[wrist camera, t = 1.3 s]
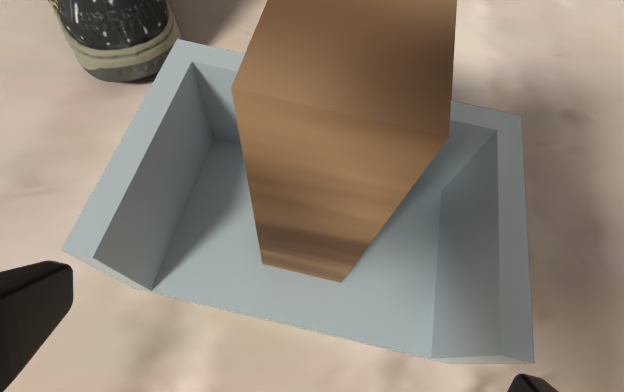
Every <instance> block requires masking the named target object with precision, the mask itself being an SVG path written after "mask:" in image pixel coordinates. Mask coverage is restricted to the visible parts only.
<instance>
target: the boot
mask: <svg viewBox="0 0 624 392" xmlns="http://www.w3.org/2000/svg"><path fill="white" fill-rule="evenodd" d="M48 1H49V2H50V3H51V5H52V6H53V9H54V12H55V14H56V17H57V18H58V20H59V22H60V25H61V28H62V30H63V33H64V35H65V37H66V39H67V41H68V43H69V45H70V47H71V48H72V49H73V51H74V53H75V55H76V57H77V59H78V61H79V62H80V64H81V65H82V67H83V68H84V69H85V70H86V71H87V72H88V73H89V74H91V75H92V76H94V77H96V78H98V79H100V80H103V81H108V82H126V81H132V80H137V79H141V78H144V77H147V76H151V75H153V74H154V73H156V72H159V71H160V69H161V67H162V66H163V64H164V62H165V60H166V58H167V56H168V55H169V53H170V51H171V49H172V47H173V46H174V44H175V42H176V40H177V39H180V40H182V36H181V32H180V30H179V27H178V25H177V22H176V19H175V17H174V14H173V12H172V10H171V8H170V5H169V4H168V2H167V1H166V0H48Z"/></svg>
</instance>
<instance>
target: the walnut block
mask: <svg viewBox="0 0 624 392" xmlns="http://www.w3.org/2000/svg"><path fill="white" fill-rule="evenodd" d="M456 7H457V0H268V1H267V3H266V5H265V8H264V10H263V12H262V15H261V17H260V20H259V22H258V24H257V27H256V29H255V32H254V34H253V36H252V39H251V41H250V43H249V46H248V48H247V51H246V53H245V55H244V58H243V60H242V62H241V65H240V67H239V70H238V72H237V74H236V77H235V79H234V82H233V84H232V86H231V90H232V96H233V102H234V107H235V113H236V118H237V124H238V130H239V135H240V141H241V147H242V152H243V158H244V163H245V169H246V175H247V180H248V186H249V192H250V197H251V203H252V208H253V214H254V220H255V225H256V231H257V237H258V242H259V248H260V253H261V259H262V264H264V265H268V266H272V267H277V268H281V269H285V270H289V271H293V272H298V273H302V274H306V275H310V276H315V277H319V278H323V279H327V280H331V281H336V282H340V283H342V281H343V280H344V279H345V277H346V276H347V274H348V273H349V272H350V270H351V269H352V268H353V266H354V265H355V264H356V262H357V261H358V260H359V258H360V257H361V256H362V254H363V253H364V251H365V250H366V249H367V247H368V246H369V245H370V243H371V242H372V241H373V239H374V238H375V237H376V235H377V234H378V233H379V231H380V230H381V228H382V227H383V226H384V224H385V223H386V222H387V220H388V219H389V218H390V216H391V215H392V214H393V212H394V211H395V210H396V208H397V207H398V205H399V204H400V203H401V201H402V200H403V199H404V197H405V196H406V195H407V193H408V192H409V191H410V189H411V188H412V187H413V185H414V184H415V182H416V181H417V180H418V178H419V177H420V176H421V174H422V173H423V172H424V170H425V169H426V168H427V166H428V165H429V164H430V162H431V161H432V159H433V158H434V157H435V155H436V154H437V153H438V151H439V150H440V149H441V147H442V146H443V145H444V143H445V142H446V141H447V139H448V138H449V130H450V112H451V95H452V77H453V60H454V42H455V25H456Z"/></svg>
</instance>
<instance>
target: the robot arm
mask: <svg viewBox="0 0 624 392" xmlns="http://www.w3.org/2000/svg"><path fill="white" fill-rule="evenodd" d="M72 303H73V270H72V268H71V266H69V265H68V264H64V263H60V262H56V261H43V262H39V263H35V264H31V265H27V266H23V267H19V268H15V269H11V270H7V271H2V272H0V392H3V391H4V390H5V389H6V388H7V387H8V386H9V385H10V384H11V383H12V381H13V380H14V379H15V378H16V377H17V375H18V374H19V373H20V372H21V371H22V370H23V368H24V367H25V366H26V365H27V363H28V362H29V361H30V359H31V358H32V357H33V356H34V354H35V353H36V352H37V351H38V349H39V348H40V347H41V346H42V344H43V343H44V342H45V341H46V339H47V338H48V337H49V335H50V334H51V333H52V332H53V330H54V329H55V328H56V327H57V325H58V324H59V323H60V322H61V320H62V319H63V318H64V317H65V315H66V314H67V313H68V311H69V310H70V308H71V306H72ZM507 392H558V391H557V390H556V389H554V388H553V387H552V386H551V385H550V384H548V383H547V382H546V381H545V380H543V379H541V378H539V377H535V376H531V375H526V374H518V375H517V376H516V377H515V378H514V380H513V382H512V384H511V385H510V387H509V389H508V391H507Z"/></svg>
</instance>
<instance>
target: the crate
mask: <svg viewBox="0 0 624 392" xmlns="http://www.w3.org/2000/svg"><path fill="white" fill-rule="evenodd" d="M244 55H245V54H243V53H238V52H234V51H229V50H225V49H221V48H216V47H212V46H207V45H203V44H198V43H194V42H189V41H185V40H180V39H177V40H176V42H175V44H174V46H173V47H172V49H171V51H170V53H169V55H168V56H167V58H166V60H165V62H164V64H163V66H162V67H161V69H160V71H159V73H158V75H157V76H156V78H155V80H154V82H153V84H152V85H151V87H150V89H149V91H148V93H147V95H146V96H145V98H144V100H143V102H142V104H141V105H140V107H139V109H138V111H137V113H136V114H135V116H134V118H133V120H132V122H131V124H130V125H129V127H128V129H127V131H126V133H125V134H124V136H123V138H122V140H121V142H120V143H119V145H118V147H117V149H116V151H115V153H114V154H113V156H112V158H111V160H110V162H109V163H108V165H107V167H106V169H105V171H104V172H103V174H102V176H101V178H100V180H99V182H98V183H97V185H96V187H95V189H94V191H93V192H92V194H91V196H90V198H89V200H88V201H87V203H86V205H85V207H84V209H83V210H82V212H81V214H80V216H79V218H78V220H77V221H76V223H75V225H74V227H73V229H72V230H71V232H70V234H69V236H68V238H67V239H66V241H65V243H64V245H63V247H62V249H61V250H62V251H64V252H66V253H67V254H69V255H71V256H73V257H75V258H77V259H79V260H81V261H83V262H85V263H86V264H88V265H90V266H92V267H94V268H96V269H98V270H100V271H102V272H104V273H106V274H107V275H109V276H111V277H113V278H115V279H117V280H119V281H121V282H123V283H125V284H126V285H128V286H130V287H132V288H136V289H140V290H144V291H148V292H152V293H156V294H161V295H165V296H169V297H173V298H177V299H181V300H186V301H190V302H194V303H198V304H202V305H206V306H210V307H215V308H219V309H223V310H227V311H231V312H235V313H240V314H244V315H248V316H252V317H256V318H260V319H264V320H269V321H273V322H277V323H281V324H285V325H289V326H294V327H298V328H302V329H306V330H310V331H314V332H318V333H323V334H327V335H331V336H335V337H339V338H343V339H348V340H352V341H356V342H360V343H364V344H368V345H372V346H377V347H381V348H385V349H389V350H393V351H397V352H402V353H406V354H410V355H414V356H418V357H422V358H427V359H431V360H435V361H439V362H443V363H447V364H529V363H535V361H534V343H533V324H532V306H531V288H530V269H529V251H528V232H527V214H526V196H525V177H524V159H523V140H522V122H521V116H519V115H514V114H510V113H505V112H501V111H496V110H492V109H487V108H483V107H479V106H474V105H470V104H465V103H461V102H456V101H452V100H451V112H450V130H449V138H448V139H447V141H446V142H445V143H444V145H443V146H442V147H441V149H440V150H439V151H438V153H437V154H436V155H435V157H434V158H433V159H432V161H431V162H430V164H429V165H428V166H427V168H426V169H425V170H424V172H423V173H422V174H421V176H420V177H419V178H418V180H417V181H416V182H415V184H414V185H413V187H412V188H411V189H410V191H409V192H408V193H407V195H406V196H405V197H404V199H403V200H402V201H401V203H400V204H399V205H398V207H397V208H396V210H395V211H394V212H393V214H392V215H391V216H390V218H389V219H388V220H387V222H386V223H385V224H384V226H383V227H382V228H381V230H380V231H379V233H378V234H377V235H376V237H375V238H374V239H373V241H372V242H371V243H370V245H369V246H368V247H367V249H366V250H365V251H364V253H363V254H362V256H361V257H360V258H359V260H358V261H357V262H356V264H355V265H354V266H353V268H352V269H351V270H350V272H349V273H348V274H347V276H346V277H345V279H344V280H343V281H342V283H340V282H336V281H331V280H327V279H323V278H319V277H315V276H310V275H306V274H302V273H298V272H293V271H289V270H285V269H281V268H277V267H272V266H268V265H264V264H262V259H261V253H260V248H259V242H258V237H257V231H256V225H255V220H254V214H253V208H252V203H251V197H250V192H249V186H248V180H247V175H246V169H245V163H244V158H243V152H242V147H241V141H240V135H239V130H238V124H237V118H236V113H235V107H234V102H233V96H232V90H231V86H232V84H233V82H234V79H235V77H236V74H237V72H238V70H239V67H240V65H241V62H242V60H243V58H244Z"/></svg>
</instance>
